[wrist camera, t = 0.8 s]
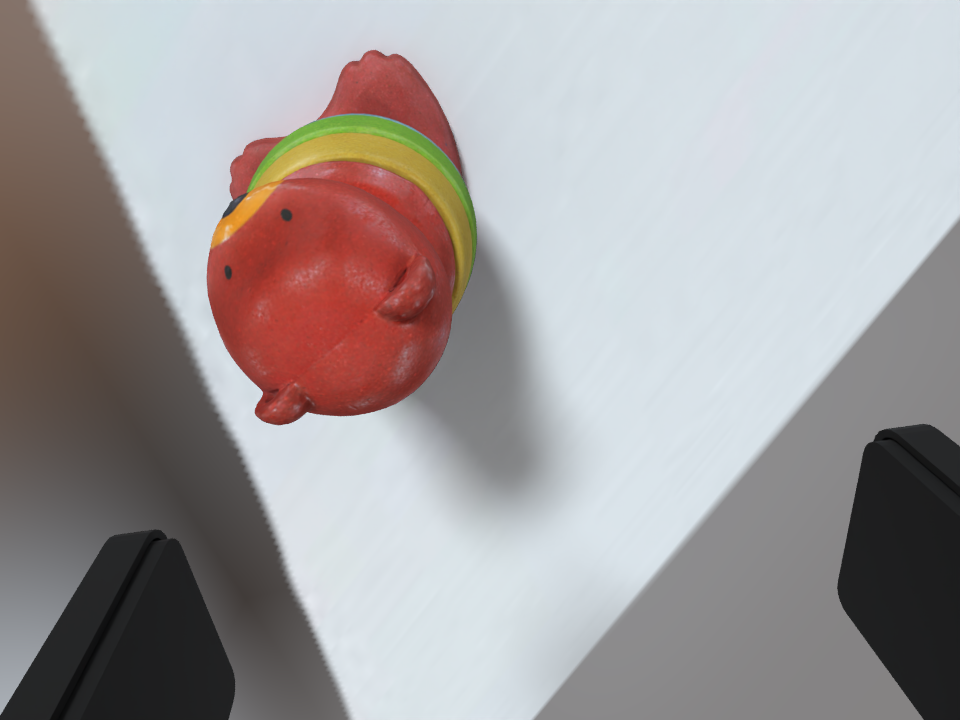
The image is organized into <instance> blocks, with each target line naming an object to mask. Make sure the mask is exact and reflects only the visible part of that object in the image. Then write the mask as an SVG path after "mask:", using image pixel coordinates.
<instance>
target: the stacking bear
mask: <svg viewBox="0 0 960 720" xmlns="http://www.w3.org/2000/svg"><path fill="white" fill-rule="evenodd" d="M230 172H231V176H232V183H231V184H230V193H231V196H232V198H233V201H232V202H230V204H229V206H228V208H227V210H226V211H225V212H224V214H223V217H222V219H221V220H220V222H219V223H218V225H217V227H216V230H215V232H214V234H213V238H212V243H211V247H210V252H209V258H208V265H207V288H208V297H209V301H210V305H211V309H212V313H213V316H214V319H215V322H216V325H217V328H218V330H219V333H220V336H221V338H222V340H223V343H224V345H225V347H226V349H227V350H228V352H229V354H230V355H231V357H232V358H233V360H234V361H235V362H236V364H237V365H238V366H239V367H240V369H241V370H242V371H243V372H244V373H245V374H246V375H247V376H248V377H249V379H250V380H251V381H253V382H254V383H255V384H256V385H257V386H258V387H259V388H260V389H261V390H262V391H263V396H262V398H261V400H260V401H259V402H258V404H257V406H256V408H255V415H256V416H257V417H258V418H259V419H261V420H262V421H264V422H266V423H270V424H274V425H283V424H289V423H292V422H294V421H296V420H298V419H299V418H301V417H302V416H303V415H304V414H305V413H307V412H309V413H314V414H320V415H330V416H354V415H360V414H366V413H371V412H375V411H378V410H381V409H384V408H387V407H389V406H392V405H394V404H396V403H398V402H400V401H401V400H403V399H405V398H406V397H407V396H409V395H410V394H412V393H413V392H414V391H415V390H416V389H417V388H419V387H420V386H421V385H422V384H423V383H424V381H425V380H426V379H427V378H428V377H429V375H430V374H431V373H432V371H433V370H434V368H435V367H436V365H437V363H438V362H439V360H440V358H441V356H442V354H443V352H444V349H445V347H446V344H447V341H448V338H449V334H450V328H451V321H452V314H453V312H454V311H455V310H456V308H457V306H458V304H459V302H460V300H461V298H462V296H463V293H464V291H465V289H466V287H467V284H468V281H469V279H470V276H471V272H472V268H473V265H474V260H475V254H476V243H477V229H476V218H475V213H474V208H473V204H472V200H471V198H470V195H469V192H468V190H467V187H466V185H465V183H464V181H463V179H462V172H461V165H460V160H459V155H458V151H457V147H456V144H455V140H454V137H453V134H452V131H451V129H450V126H449V123H448V121H447V119H446V116H445V114H444V112H443V110H442V108H441V106H440V104H439V102H438V100H437V99H436V97H435V96H434V94H433V92H432V91H431V89H430V88H429V86H428V85H427V83H426V82H425V81H424V79H423V78H422V76H421V75H420V74H419V72H418V71H417V70H416V69H415V68H414V67H413V65H412V64H411V63H410V62H409V61H407V60H406V59H405V58H404V57H402V56H401V55H398V54H392V55H390V56H385V55H384V54H382V53H381V52H379V51H377V50H371V51H368V52H366V53H365V54H364V55H363V57H362V59H361V60H360V61H352V62H349V63H348V64H347V65H346V66H345V67H344V68H343V70H342V72H341V74H340V76H339V79H338V83H337V86H336V90H335V92H334V95H333V97H332V100H331V101H330V103H329V105H328V107H327V108H326V110H325V111H324V112H323V114H322V115H321V116H320V117H319V118H318V119H317V120H316V121H314V122H311V123H309V124H307V125H305V126H303V127H301V128H299V129H298V130H296V131H294V132H293V133H291V134H290V135H288V136H286V137H278V138H265V139H260V140H256V141H253V142H251V143H250V144H248V145H247V146H246V147H245V149H244V152H243V155H241V156H238V157H236V158H235V159H234V161H233V162H232V164H231V167H230Z"/></svg>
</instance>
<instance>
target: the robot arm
mask: <svg viewBox="0 0 960 720" xmlns="http://www.w3.org/2000/svg"><path fill="white" fill-rule="evenodd" d="M837 589H838V595H839V599H840V602H841V604H842V606H843V608H844V610H845V612H846V613H847V615H848V616H849V618H850V619H851V620H852V621H853V623H854V624H855V626H856V627H857V629H858V630H859V631H860V633H861V634H862V635H863V637H864V638H865V639H866V641H867V642H868V644H869V645H870V646H871V648H872V649H873V650H874V652H875V653H876V655H877V656H878V657H879V659H880V660H881V661H882V663H883V664H884V666H885V667H886V668H887V670H888V671H889V672H890V674H891V675H892V677H893V678H894V679H895V681H896V682H897V683H898V685H899V686H900V687H901V689H902V690H903V692H904V693H905V694H906V696H907V697H908V699H909V700H910V701H911V703H912V704H913V705H914V707H915V708H916V709H917V711H918V712H919V714H920V715H921V716H922V718H923V719H924V720H960V447H959V445H957V444H956V443H955V442H953V441H952V440H951V439H950V438H948V437H947V436H946V435H944V434H943V433H942V432H941V431H939V430H938V429H936V428H935V427H933V426H931V425H926V424H920V425H913V426H905V427H898V428H891V429H884V430H882V431H879V432H878V434H877V435H876V436H875V439H874V441H873V442H871V443H868V444H867V445H866V447H865V449H864V452H863V457H862V463H861V468H860V473H859V478H858V483H857V488H856V493H855V498H854V503H853V508H852V513H851V518H850V524H849V528H848V533H847V539H846V544H845V549H844V554H843V559H842V564H841V569H840V574H839V579H838V587H837ZM234 695H235V678H234V673H233V670H232V667H231V665H230V663H229V660H228V658H227V655H226V653H225V650H224V648H223V645H222V643H221V641H220V639H219V636H218V633H217V631H216V629H215V626H214V624H213V621H212V619H211V616H210V614H209V612H208V609H207V607H206V604H205V602H204V600H203V597H202V595H201V593H200V590H199V588H198V585H197V583H196V580H195V578H194V576H193V573H192V571H191V569H190V566H189V564H188V561H187V559H186V556H185V554H184V551H183V549H182V547H181V545H180V543H179V541H177V540H176V539H167V537H166V535H165V534H164V533H163V532H162V531H161V530H149V531H141V532H134V533H127V534H120V535H114V536H112V537H110V538H109V539H108V540H107V541H106V543H105V544H104V546H103V547H102V549H101V550H100V552H99V554H98V556H97V557H96V559H95V560H94V562H93V564H92V565H91V567H90V569H89V570H88V572H87V574H86V575H85V577H84V578H83V580H82V582H81V584H80V585H79V587H78V588H77V590H76V592H75V593H74V595H73V597H72V598H71V600H70V602H69V603H68V605H67V607H66V608H65V610H64V612H63V613H62V615H61V617H60V618H59V620H58V622H57V623H56V625H55V626H54V628H53V630H52V631H51V633H50V635H49V636H48V638H47V639H46V641H45V643H44V645H43V646H42V648H41V649H40V651H39V653H38V654H37V656H36V658H35V659H34V661H33V662H32V664H31V666H30V667H29V669H28V671H27V672H26V674H25V676H24V677H23V679H22V681H21V682H20V684H19V686H18V687H17V689H16V690H15V692H14V694H13V696H12V697H11V699H10V700H9V702H8V704H7V705H6V707H5V709H4V710H3V712H2V714H1V715H0V720H228V719H229V715H230V712H231V708H232V704H233V700H234Z"/></svg>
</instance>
